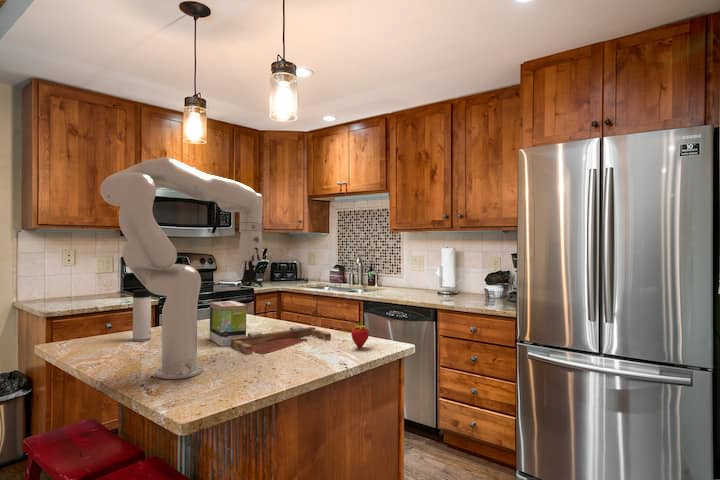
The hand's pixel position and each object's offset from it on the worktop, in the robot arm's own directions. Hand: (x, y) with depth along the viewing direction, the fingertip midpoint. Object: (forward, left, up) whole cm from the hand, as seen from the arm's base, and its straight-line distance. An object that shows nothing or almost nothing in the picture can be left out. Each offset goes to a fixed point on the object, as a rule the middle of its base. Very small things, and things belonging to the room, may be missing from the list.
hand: (248, 281), depth 152 cm
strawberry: (-19, -34, -25) cm, 46 cm away
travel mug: (+43, +24, -25) cm, 55 cm away
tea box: (+21, -1, -25) cm, 32 cm away
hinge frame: (+5, -16, -25) cm, 30 cm away
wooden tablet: (+3, -14, -25) cm, 29 cm away
